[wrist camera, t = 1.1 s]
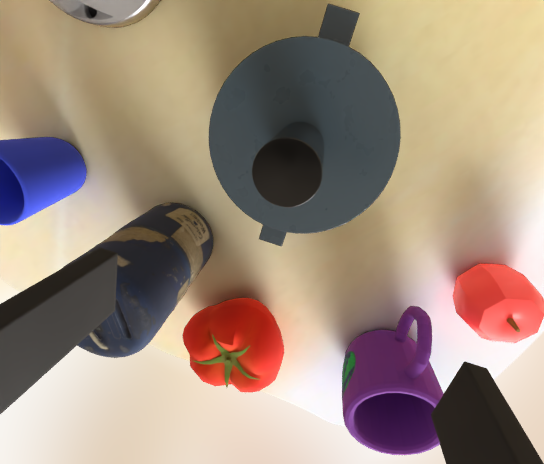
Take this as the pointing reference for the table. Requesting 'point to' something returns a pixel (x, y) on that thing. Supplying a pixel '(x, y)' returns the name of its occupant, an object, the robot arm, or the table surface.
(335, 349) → the table surface
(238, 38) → the table surface
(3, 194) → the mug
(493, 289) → the apple
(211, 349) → the tomato
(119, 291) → the canister
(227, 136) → the lid
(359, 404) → the mug
